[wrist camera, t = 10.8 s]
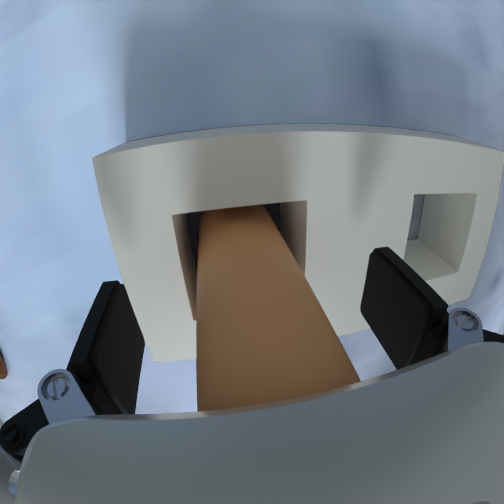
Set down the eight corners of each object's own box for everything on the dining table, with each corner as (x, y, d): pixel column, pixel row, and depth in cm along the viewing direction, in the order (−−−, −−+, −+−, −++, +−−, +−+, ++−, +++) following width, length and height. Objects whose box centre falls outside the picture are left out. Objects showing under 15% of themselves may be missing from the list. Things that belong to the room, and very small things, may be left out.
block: (455, 136, 16) (505, 152, 11) (433, 265, 21) (469, 297, 17) (125, 142, 14) (92, 158, 9) (162, 307, 19) (154, 362, 14)
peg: (266, 186, 16) (418, 407, 4) (269, 249, 18) (363, 475, 6) (195, 193, 16) (178, 460, 3) (204, 256, 18) (219, 505, 5)
